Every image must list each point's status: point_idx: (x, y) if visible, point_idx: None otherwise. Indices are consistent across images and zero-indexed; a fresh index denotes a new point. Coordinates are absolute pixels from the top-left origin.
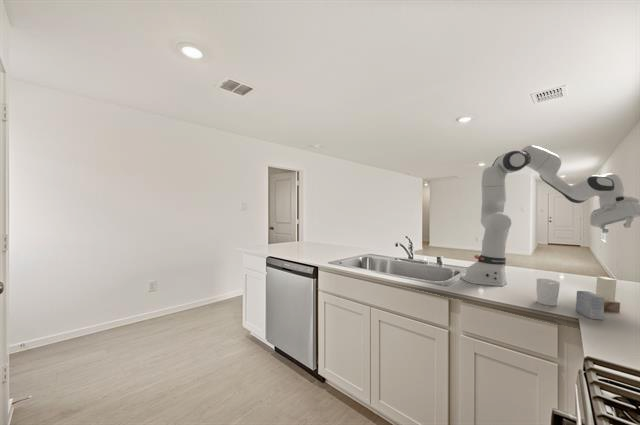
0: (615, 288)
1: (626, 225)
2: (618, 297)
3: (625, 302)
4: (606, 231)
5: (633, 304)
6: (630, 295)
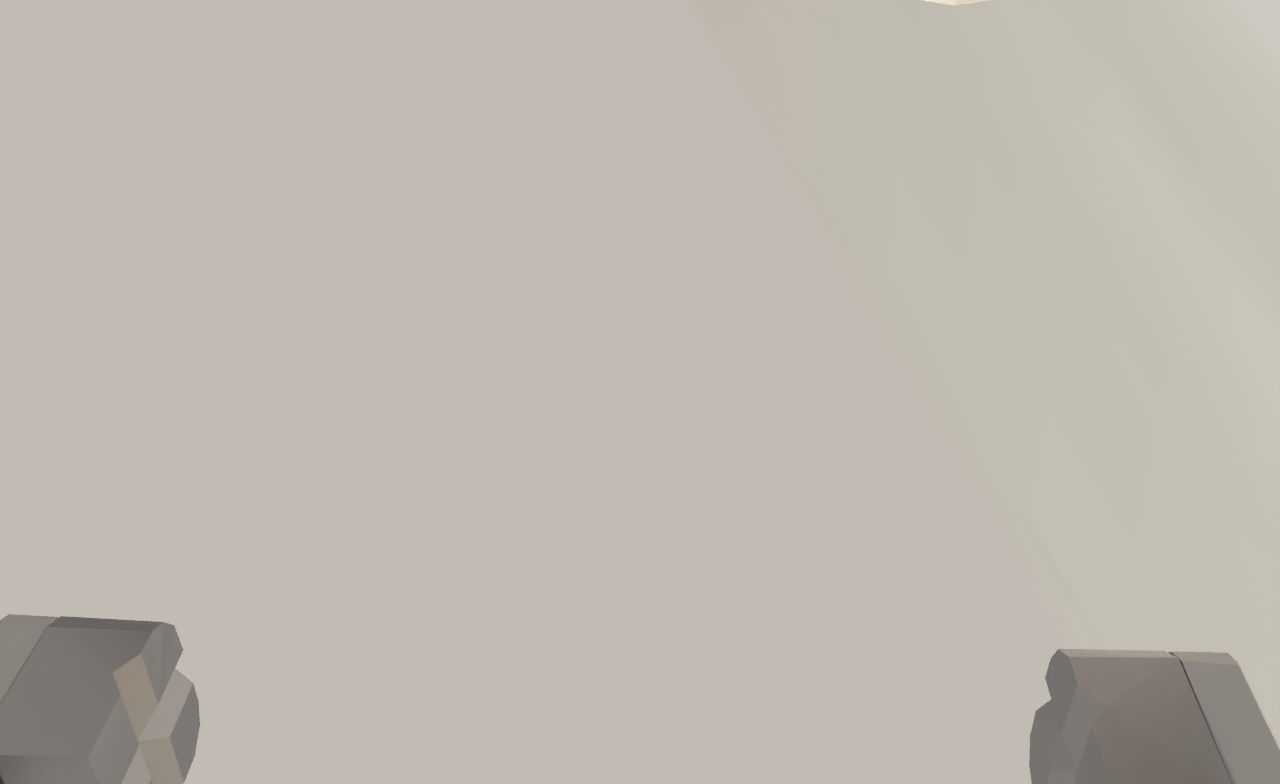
0: None
1: (21, 634)
2: (1002, 237)
3: (829, 82)
4: (1056, 710)
5: (762, 102)
6: (1043, 525)
